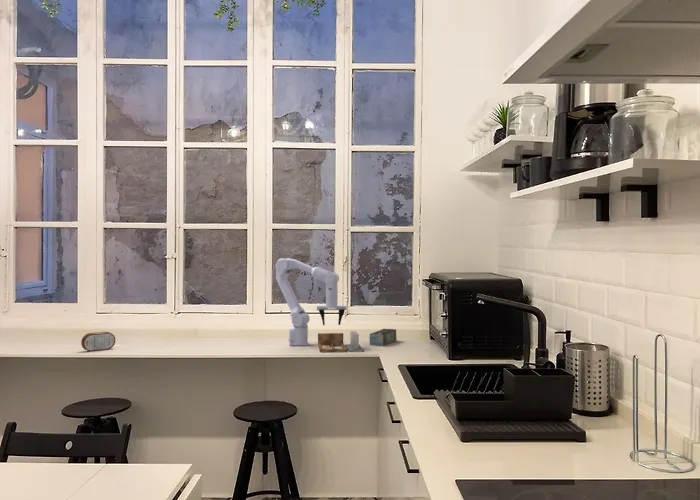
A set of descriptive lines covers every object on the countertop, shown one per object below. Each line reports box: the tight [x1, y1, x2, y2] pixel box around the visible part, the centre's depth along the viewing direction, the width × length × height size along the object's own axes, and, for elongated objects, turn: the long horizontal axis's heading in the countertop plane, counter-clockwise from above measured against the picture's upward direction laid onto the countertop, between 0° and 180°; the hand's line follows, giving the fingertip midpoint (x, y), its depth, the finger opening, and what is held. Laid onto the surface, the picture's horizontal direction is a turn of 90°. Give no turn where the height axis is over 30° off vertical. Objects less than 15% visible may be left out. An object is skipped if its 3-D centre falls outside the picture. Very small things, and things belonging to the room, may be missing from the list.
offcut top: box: [322, 345, 331, 349], centre depth 286 cm, size 4×13×1 cm, turn 4°
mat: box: [344, 343, 365, 353], centre depth 287 cm, size 7×18×1 cm, turn 6°
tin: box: [80, 331, 116, 352], centre depth 278 cm, size 15×3×8 cm, turn 132°
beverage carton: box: [369, 328, 397, 347], centre depth 304 cm, size 8×19×7 cm, turn 155°
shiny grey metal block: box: [349, 330, 360, 350], centre depth 287 cm, size 3×11×7 cm, turn 6°
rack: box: [317, 332, 348, 353], centre depth 286 cm, size 12×19×6 cm, turn 6°
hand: (331, 325), depth 293 cm, fingers open, 7 cm apart
